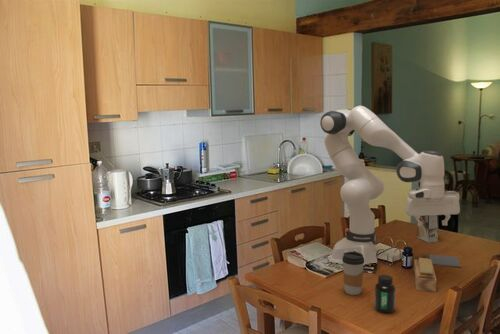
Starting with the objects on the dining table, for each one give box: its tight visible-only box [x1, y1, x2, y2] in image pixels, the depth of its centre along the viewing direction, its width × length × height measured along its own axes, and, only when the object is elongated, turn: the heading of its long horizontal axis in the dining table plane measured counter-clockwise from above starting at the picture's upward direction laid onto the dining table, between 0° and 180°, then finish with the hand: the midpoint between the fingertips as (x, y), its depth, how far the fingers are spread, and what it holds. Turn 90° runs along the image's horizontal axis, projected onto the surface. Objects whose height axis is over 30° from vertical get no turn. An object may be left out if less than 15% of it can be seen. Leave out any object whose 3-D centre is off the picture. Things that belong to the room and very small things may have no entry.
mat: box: [428, 253, 462, 269], centre depth 193 cm, size 12×12×1 cm
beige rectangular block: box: [418, 257, 434, 277], centre depth 169 cm, size 4×9×4 cm, turn 162°
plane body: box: [413, 253, 437, 293], centre depth 173 cm, size 7×20×8 cm, turn 162°
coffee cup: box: [342, 252, 364, 296], centre depth 164 cm, size 8×8×15 cm
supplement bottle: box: [374, 274, 396, 314], centre depth 150 cm, size 7×7×12 cm
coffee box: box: [416, 215, 440, 244], centre depth 221 cm, size 9×6×16 cm
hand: (432, 225), depth 169 cm, fingers open, 8 cm apart
